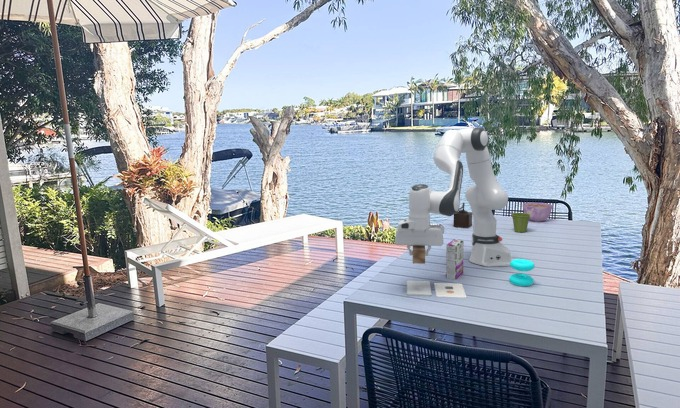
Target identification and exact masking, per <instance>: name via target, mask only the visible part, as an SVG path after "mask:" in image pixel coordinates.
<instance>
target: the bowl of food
mask: <svg viewBox="0 0 680 408" xmlns="http://www.w3.org/2000/svg"><path fill="white" fill-rule="evenodd" d="M553 207H554V205H553V204H552V203H551V204H550V203H545V202H534V201H533V202H531V201H530V202H524V203H522V209H523V213H526V214H530V215H531V216H530V218H529V221H531V222H537V223H540V222H544V221H546V220H548V218H549V217H550V216H551V212H552V209H553Z"/></svg>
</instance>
